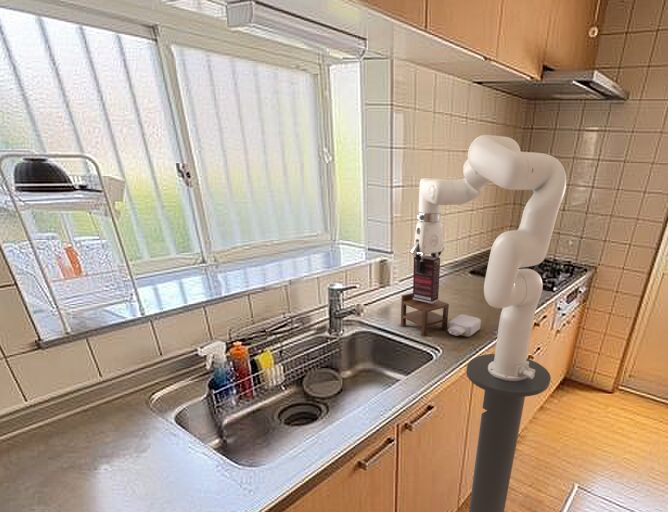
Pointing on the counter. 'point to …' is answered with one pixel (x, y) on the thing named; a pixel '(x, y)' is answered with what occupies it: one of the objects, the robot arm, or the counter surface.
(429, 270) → the supplement box
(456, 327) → the charger
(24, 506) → the counter surface
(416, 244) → the robot arm
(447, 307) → the shelf rack
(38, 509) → the counter surface
